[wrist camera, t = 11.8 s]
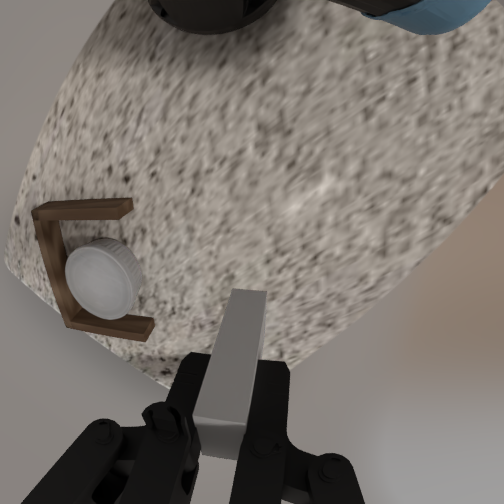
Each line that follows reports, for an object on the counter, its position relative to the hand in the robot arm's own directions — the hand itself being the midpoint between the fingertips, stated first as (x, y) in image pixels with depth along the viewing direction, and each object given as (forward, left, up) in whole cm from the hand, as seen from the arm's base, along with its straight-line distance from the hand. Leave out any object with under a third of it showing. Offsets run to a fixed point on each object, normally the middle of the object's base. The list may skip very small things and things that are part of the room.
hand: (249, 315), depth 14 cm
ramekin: (+11, -23, -24) cm, 35 cm away
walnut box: (+11, -25, -23) cm, 36 cm away
